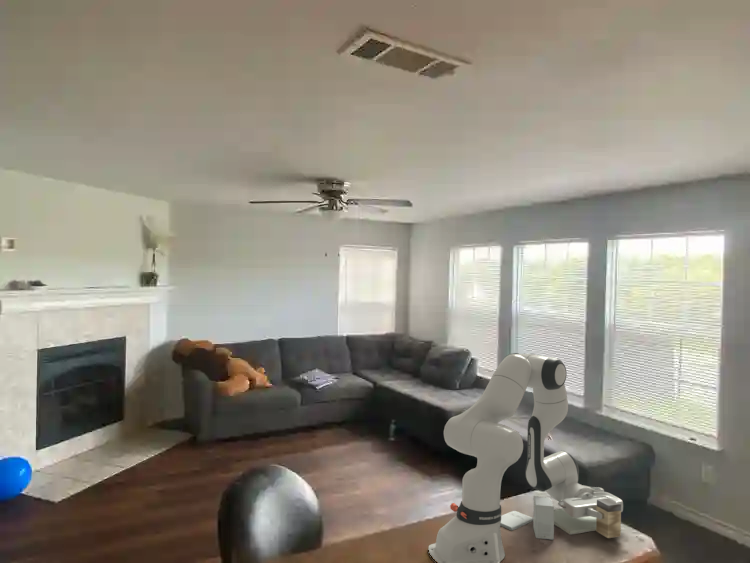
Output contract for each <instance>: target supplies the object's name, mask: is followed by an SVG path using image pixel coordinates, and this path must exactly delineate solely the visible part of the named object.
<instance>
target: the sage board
mask: <svg viewBox="0 0 750 563" xmlns="http://www.w3.org/2000/svg"><path fill="white" fill-rule="evenodd" d="M596 518H597V517H591V516H587V517H579V518H575V517H572V516H570V515H569V514H567V513H566V512H565V511H564V510H563V507H561V508H556V509H555V508H554V526H556V527H558V528H560V530H562V531H564V532H565V533H567V534H568V535H577V534H581V533H587V532H594V531H596Z"/></svg>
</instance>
